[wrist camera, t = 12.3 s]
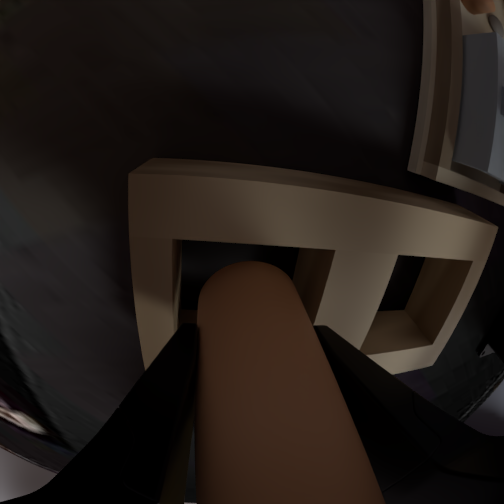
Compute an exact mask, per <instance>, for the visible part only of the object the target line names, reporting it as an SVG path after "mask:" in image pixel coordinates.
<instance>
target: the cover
mask: <svg viewBox="0 0 504 504" xmlns="http://www.w3.org/2000/svg"><path fill="white" fill-rule="evenodd" d="M462 36H463V68H462V87H461V100H460V110H459V118H458V126H457V133H456V139H455V145H454V151H453V156H452V161H455V162H458V163H461V164H464V165H467V166H470V167H473V168H475V169H478V170H481V171H483V172H485V173H487V174H489V175H490V176H492V177H494V178H496V179H498V180H499V183H500V184H502V185H504V39H503V38H502V37H501V36H500V35H499V34H498V33H497V32H490V33H479V34H470V35H462Z"/></svg>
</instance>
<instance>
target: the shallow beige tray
mask: <svg viewBox="0 0 504 504" xmlns="http://www.w3.org/2000/svg"><path fill="white" fill-rule="evenodd" d="M423 17H424V33H423V60H422V74H421V86H420V95H419V103H418V111H417V118H416V125H415V131H414V137H413V143H412V148H411V154H410V159H409V164H408V168H407V170H408V171H411V172H413V173H416V174H419V175H422V176H425V177H427V178H430V179H432V180H435V181H438V182H441V183H444V184H447V185H450V186H453V187H456V188H458V189H461V190H464V191H467V192H470V193H472V194H475V195H478V196H480V197H483V198H485V199H488V200H490V201H493V202H495V203H498V204H500V205H502V206H504V185H502V184H500V183H499V180H498V179H496V178H494V177H492V176H490V175H489V174H487V173H485V172H483V171H481V170H478V169H475V168H473V167H470V166H467V165H464V164H461V163H458V162H455V161H452V156H453V151H454V145H455V139H456V133H457V126H458V118H459V110H460V100H461V87H462V68H463V36H462V35H470V34H479V33H490V32H497V33H498V34H499V35H500V36H501V37H502V38H503V39H504V0H423Z"/></svg>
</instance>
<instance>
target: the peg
mask: <svg viewBox="0 0 504 504" xmlns="http://www.w3.org/2000/svg"><path fill="white" fill-rule="evenodd" d="M197 326H198V332H197V361H196V375H195V475H196V499H197V504H386V503H385V500H384V498H383V495H382V492H381V490H380V487H379V485H378V482H377V479H376V477H375V474H374V472H373V469H372V467H371V464H370V461H369V459H368V456H367V454H366V451H365V449H364V446H363V444H362V441H361V439H360V436H359V434H358V431H357V429H356V427H355V424H354V422H353V419H352V417H351V414H350V412H349V410H348V407H347V405H346V402H345V400H344V398H343V395H342V393H341V390H340V388H339V386H338V383H337V381H336V379H335V376H334V374H333V372H332V369H331V367H330V365H329V362H328V360H327V358H326V355H325V353H324V351H323V348H322V346H321V344H320V342H319V339H318V337H317V335H316V332H315V330H314V328H313V326H312V323H311V321H310V319H309V317H308V314H307V312H306V310H305V308H304V305H303V303H302V301H301V299H300V297H299V294H298V292H297V290H296V288H295V286H294V284H293V282H292V280H291V279H290V277H289V276H288V275H287V274H286V273H285V272H284V271H282V270H281V269H279V268H278V267H276V266H274V265H271V264H268V263H264V262H258V261H244V262H238V263H234V264H231V265H228V266H226V267H224V268H222V269H220V270H219V271H217V272H216V273H214V274H213V275H212V276H211V277H210V278H209V279H208V280H207V281H206V283H205V284H204V286H203V287H202V289H201V292H200V295H199V299H198V314H197Z"/></svg>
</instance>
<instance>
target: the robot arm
mask: <svg viewBox="0 0 504 504" xmlns="http://www.w3.org/2000/svg"><path fill="white" fill-rule="evenodd" d="M313 328H314V330H315V332H316V335H317V337H318V339H319V342H320V344H321V346H322V348H323V351H324V353H325V355H326V358H327V360H328V362H329V365H330V367H331V369H332V372H333V374H334V376H335V379H336V381H337V383H338V386H339V388H340V390H341V393H342V395H343V398H344V400H345V402H346V405H347V407H348V410H349V412H350V414H351V417H352V419H353V422H354V424H355V427H356V429H357V431H358V434H359V436H360V439H361V441H362V444H363V446H364V449H365V451H366V454H367V456H368V459H369V461H370V464H371V467H372V469H373V472H374V474H375V477H376V479H377V482H378V485H379V487H380V490H381V492H382V495H383V498H384V500H385V503H386V504H504V436H489V435H485V434H482V433H480V432H478V431H476V430H475V429H473V428H471V427H469V426H468V425H466V424H464V423H463V422H461V421H459V420H457V419H456V418H454V417H452V416H451V415H449V414H447V413H446V412H444V411H442V410H441V409H439V408H438V407H436V406H435V405H433V404H432V403H430V402H429V401H427V400H426V399H425V398H423V397H422V396H420V395H419V394H418V393H416V392H415V391H412V389H411V388H409V387H408V386H407V385H405V384H404V383H403V382H401V381H400V380H399V379H397V378H396V377H395V376H393V375H392V374H391V373H389V372H388V371H387V370H385V369H384V368H382V367H381V366H380V365H378V364H377V363H376V362H374V361H373V360H372V359H370V358H369V357H368V356H366V355H365V354H364V353H362V352H361V351H360V350H358V349H357V348H356V347H354V346H353V345H352V344H350V343H349V342H348V341H347V340H345V339H344V338H343V337H341V336H340V335H339V334H337V333H336V332H335V331H333V330H332V329H331V328H329V327H328V326H326V325H314V326H313ZM197 332H198V326H197V324H196V323H182V324H181V325H180V326H179V328H178V329H177V330H176V332H175V333H174V334H173V335H172V337H171V338H170V339H169V341H168V342H167V343H166V345H165V346H164V347H163V348H162V350H161V351H160V352H159V354H158V355H157V356H156V358H155V359H154V360H153V362H152V363H151V364H150V365H149V367H148V368H147V369H146V371H145V372H144V373H143V375H142V376H141V377H140V379H139V380H138V381H137V383H136V384H135V385H134V387H133V388H132V389H131V391H130V392H129V393H128V395H127V396H126V397H125V398H124V400H123V401H122V402H121V404H120V405H119V408H117V409H116V410H115V412H114V413H113V414H112V416H111V417H110V418H109V420H108V421H107V422H106V423H105V424H104V426H103V427H102V428H101V429H100V431H99V432H98V433H97V434H96V435H95V436H94V437H93V439H92V440H91V441H90V442H89V443H88V444H87V445H86V446H85V447H84V448H83V449H82V450H81V451H80V452H79V453H78V454H77V455H76V456H75V457H74V458H73V459H72V460H71V461H70V462H69V463H68V464H67V465H66V466H65V467H64V468H63V469H62V470H61V471H60V472H59V473H58V474H57V475H56V476H55V477H54V478H53V479H52V480H51V481H50V482H49V483H47V484H46V485H45V486H43V487H42V488H40V489H38V490H37V491H35V492H33V493H30V494H27V495H24V496H21V497H17V498H14V499H10V500H7V501H3V502H0V504H184V498H185V489H186V480H187V471H188V462H189V454H190V446H191V438H192V430H193V423H194V415H195V375H196V361H197ZM493 352H495V353H496V354H497V356H498V357H499V358H500V359H501V360H502V362H503V363H504V309H503V311H502V312H501V314H500V316H499V318H498V320H497V322H496V323H495V325H494V327H493V329H492V330H491V332H490V334H489V336H488V337H487V339H486V341H485V342H484V344H483V345H482V347H481V349H480V350H479V352H478V355H479V357H483V356H485V355H488V354H491V353H493Z"/></svg>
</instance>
